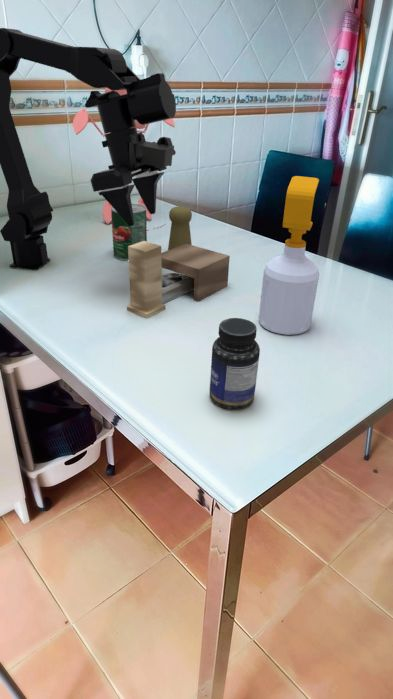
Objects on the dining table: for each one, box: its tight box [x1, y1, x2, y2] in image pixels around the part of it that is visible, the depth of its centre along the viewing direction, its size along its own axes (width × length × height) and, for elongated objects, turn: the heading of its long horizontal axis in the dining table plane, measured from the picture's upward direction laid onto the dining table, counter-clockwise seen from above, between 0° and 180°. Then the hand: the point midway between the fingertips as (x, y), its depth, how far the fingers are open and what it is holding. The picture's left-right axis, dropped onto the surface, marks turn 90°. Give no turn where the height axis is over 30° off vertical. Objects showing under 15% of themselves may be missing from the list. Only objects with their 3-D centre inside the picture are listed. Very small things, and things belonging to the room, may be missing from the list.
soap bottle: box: [258, 175, 320, 336], centre depth 78 cm, size 9×9×25 cm
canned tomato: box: [111, 203, 148, 261], centre depth 109 cm, size 8×8×11 cm
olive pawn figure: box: [167, 205, 193, 251], centre depth 111 cm, size 6×6×11 cm
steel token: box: [162, 272, 183, 288], centre depth 97 cm, size 4×4×2 cm
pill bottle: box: [209, 317, 261, 411], centre depth 62 cm, size 6×6×11 cm
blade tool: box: [126, 241, 194, 319], centre depth 88 cm, size 5×18×12 cm, turn 142°
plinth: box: [161, 244, 231, 302], centre depth 95 cm, size 11×10×6 cm
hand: (142, 219), depth 90 cm, fingers open, 9 cm apart
